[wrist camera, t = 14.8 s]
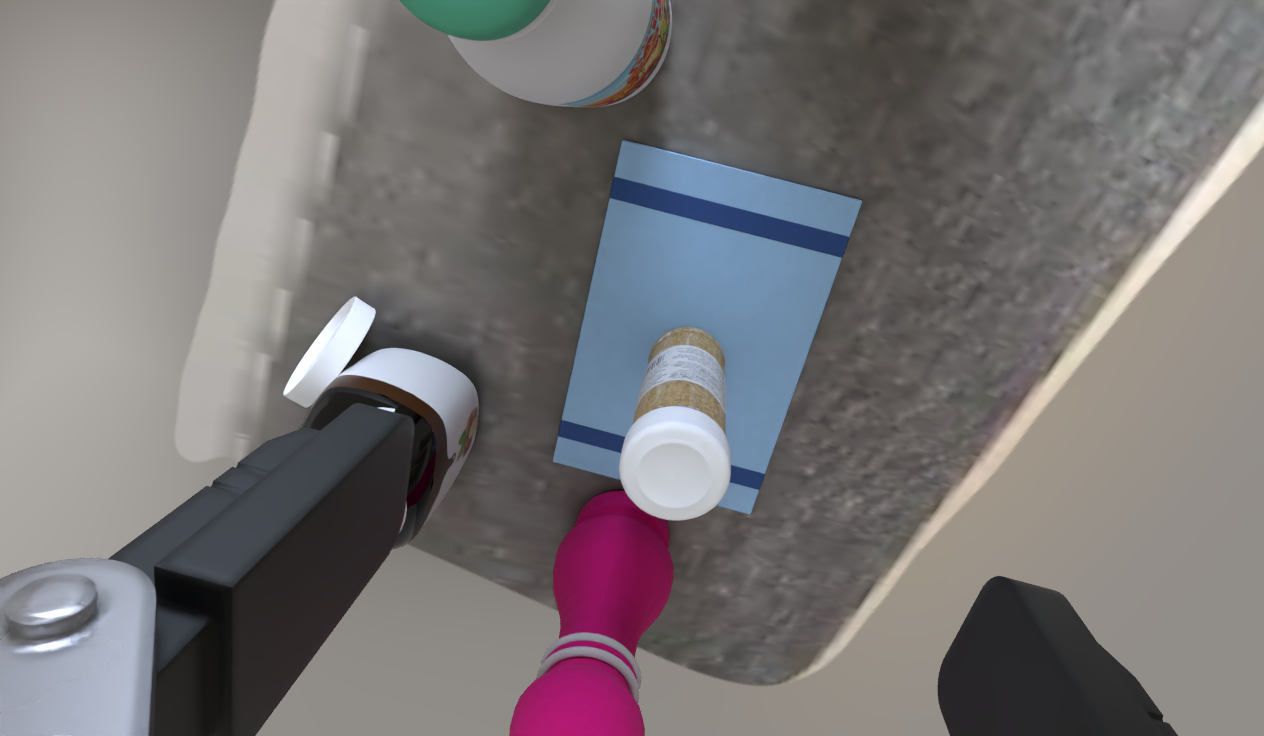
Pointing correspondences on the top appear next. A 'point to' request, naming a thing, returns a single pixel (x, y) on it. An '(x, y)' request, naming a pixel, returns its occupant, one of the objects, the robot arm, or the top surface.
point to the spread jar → (392, 403)
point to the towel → (702, 300)
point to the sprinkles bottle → (679, 429)
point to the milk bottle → (557, 45)
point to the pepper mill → (599, 623)
